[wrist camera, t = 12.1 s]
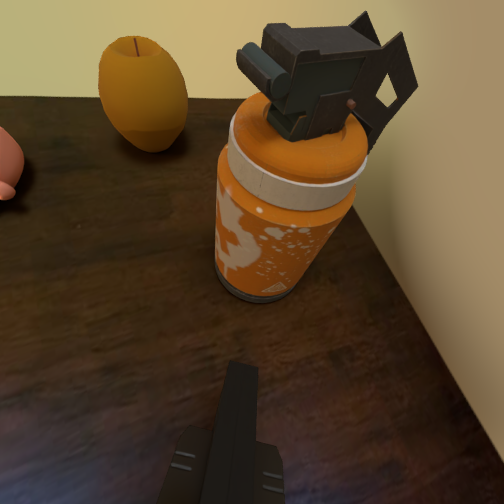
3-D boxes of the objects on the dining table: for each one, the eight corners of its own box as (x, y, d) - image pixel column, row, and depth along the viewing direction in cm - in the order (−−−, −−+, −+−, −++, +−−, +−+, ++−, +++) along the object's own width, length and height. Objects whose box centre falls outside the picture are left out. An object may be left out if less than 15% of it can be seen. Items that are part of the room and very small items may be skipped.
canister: (200, 247, 27) (184, -22, 10) (284, 215, 31) (373, -14, 14) (240, 321, 23) (318, 99, 6) (329, 274, 27) (521, 62, 10)
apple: (202, 160, 34) (199, 59, 24) (127, 175, 31) (87, 65, 21) (180, 119, 38) (169, 18, 28) (111, 128, 35) (71, 18, 25)
